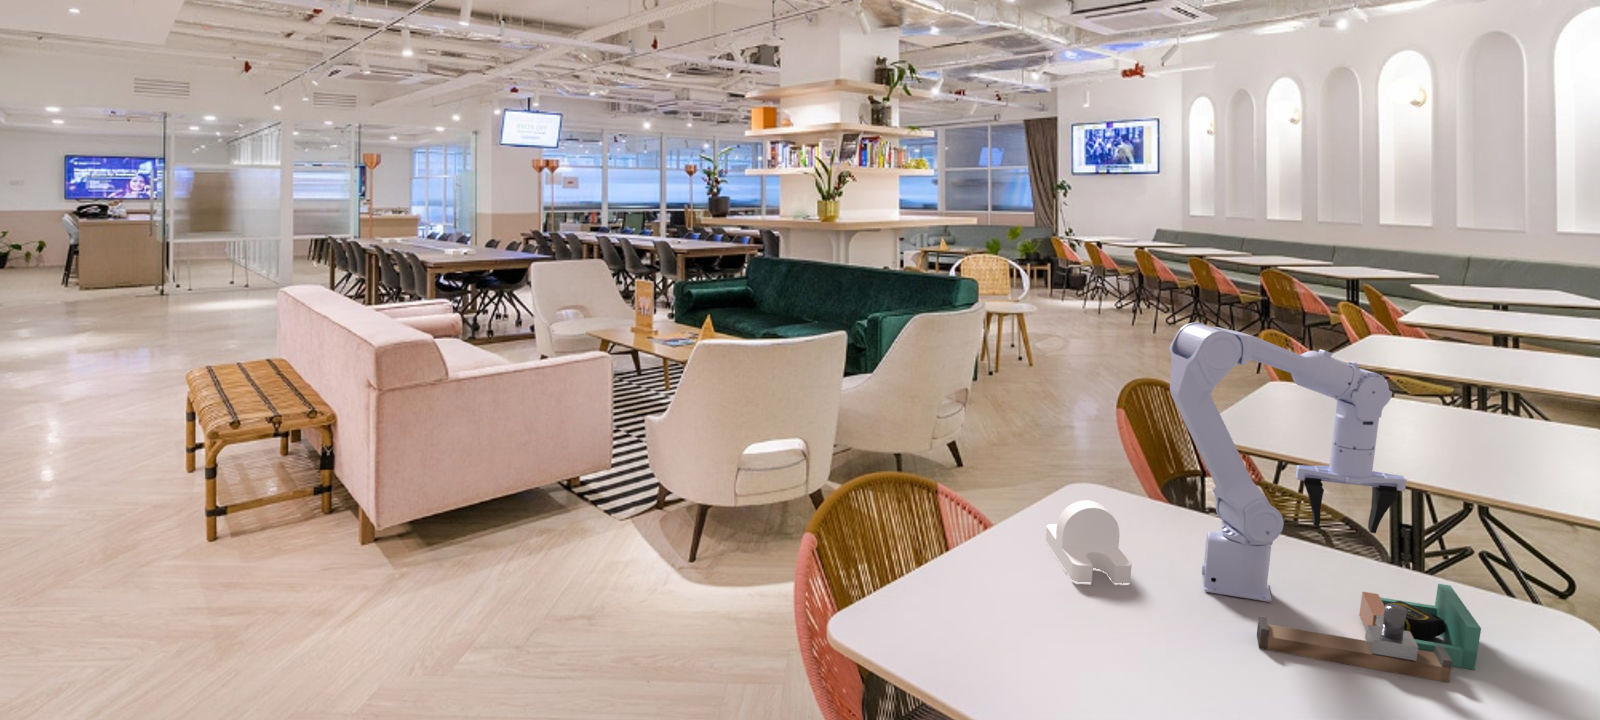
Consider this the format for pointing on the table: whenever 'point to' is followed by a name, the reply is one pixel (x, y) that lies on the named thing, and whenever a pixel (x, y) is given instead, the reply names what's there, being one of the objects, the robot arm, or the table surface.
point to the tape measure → (1422, 623)
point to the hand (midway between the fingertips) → (1343, 527)
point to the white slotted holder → (1088, 543)
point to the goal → (1452, 627)
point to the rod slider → (1386, 628)
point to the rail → (1351, 651)
